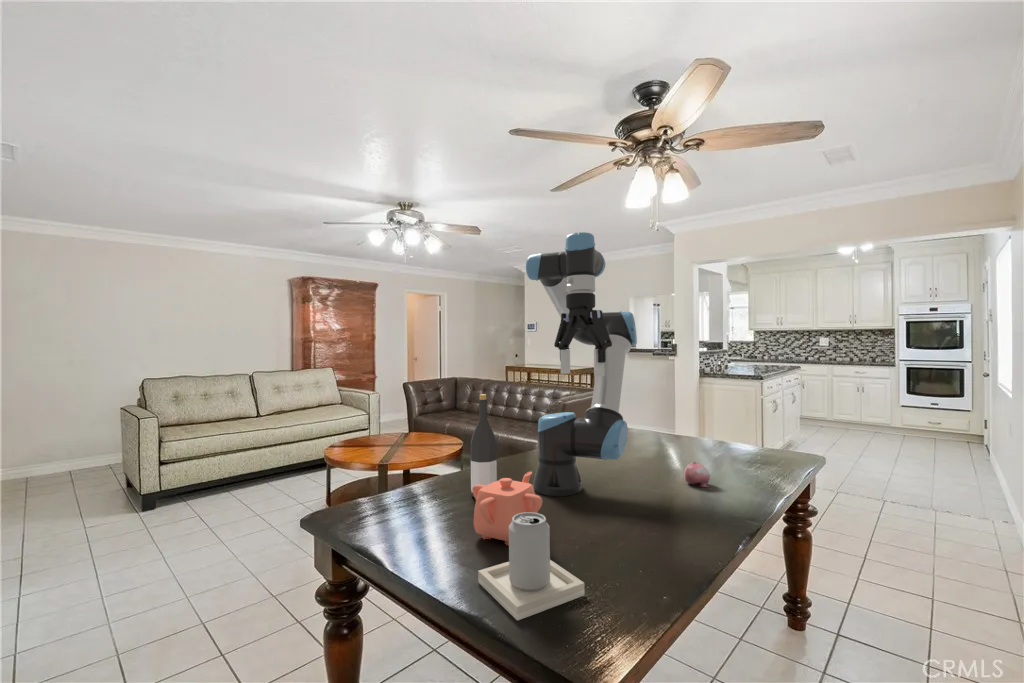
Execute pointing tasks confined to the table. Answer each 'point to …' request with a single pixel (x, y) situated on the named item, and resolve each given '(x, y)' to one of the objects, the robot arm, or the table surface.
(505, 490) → the pink kettle
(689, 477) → the pomegranate
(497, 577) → the coaster
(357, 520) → the table surface
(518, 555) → the can
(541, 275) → the robot arm
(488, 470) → the wine bottle
